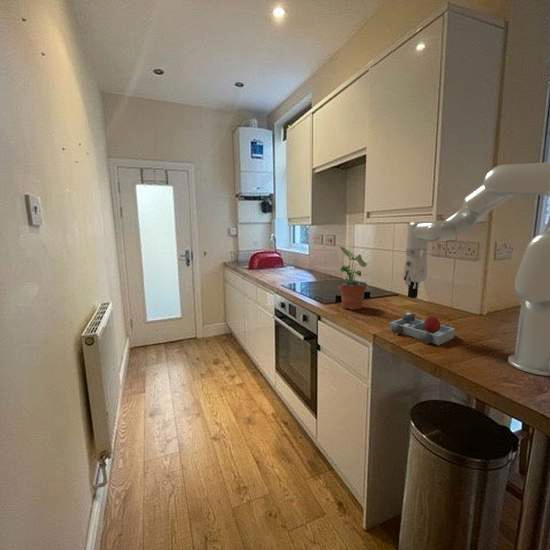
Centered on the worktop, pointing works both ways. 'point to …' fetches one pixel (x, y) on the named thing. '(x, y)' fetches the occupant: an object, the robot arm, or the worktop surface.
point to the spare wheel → (408, 316)
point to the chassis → (422, 331)
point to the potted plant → (352, 284)
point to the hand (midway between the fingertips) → (412, 297)
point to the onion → (432, 324)
